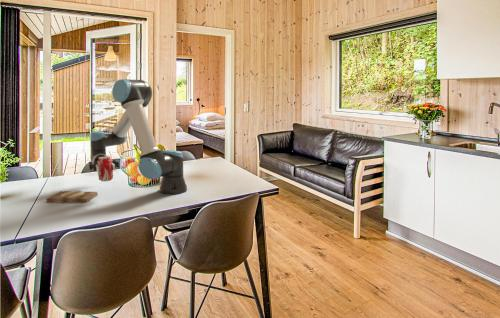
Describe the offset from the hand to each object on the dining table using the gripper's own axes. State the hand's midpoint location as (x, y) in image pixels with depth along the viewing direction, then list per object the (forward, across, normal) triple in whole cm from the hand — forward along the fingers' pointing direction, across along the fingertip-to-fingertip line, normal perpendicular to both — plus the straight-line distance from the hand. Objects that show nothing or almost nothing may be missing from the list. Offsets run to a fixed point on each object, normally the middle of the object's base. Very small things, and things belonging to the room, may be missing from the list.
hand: (106, 168), depth 174 cm
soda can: (-5, 0, -7) cm, 9 cm away
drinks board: (-14, +16, -17) cm, 27 cm away
